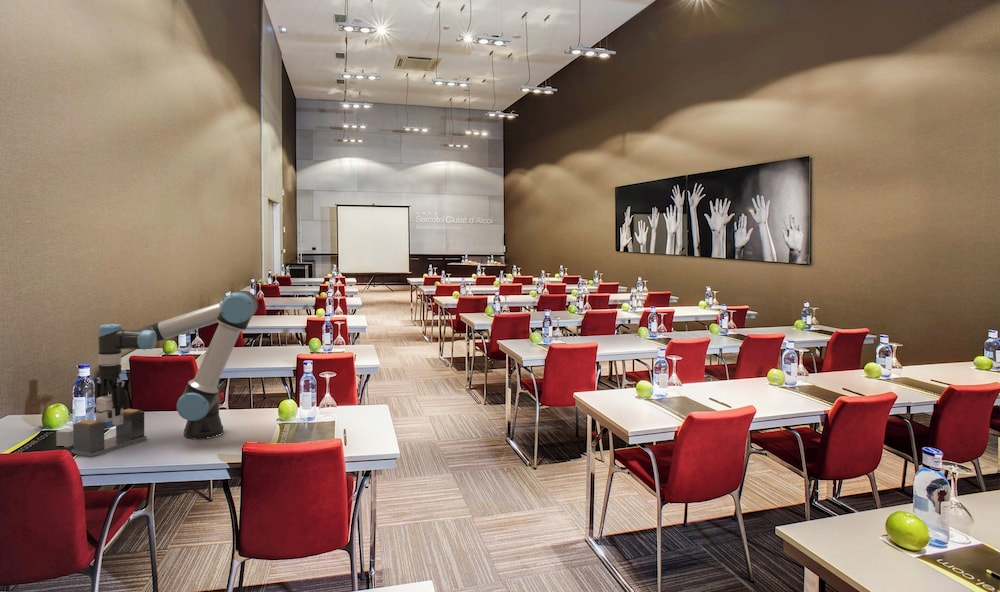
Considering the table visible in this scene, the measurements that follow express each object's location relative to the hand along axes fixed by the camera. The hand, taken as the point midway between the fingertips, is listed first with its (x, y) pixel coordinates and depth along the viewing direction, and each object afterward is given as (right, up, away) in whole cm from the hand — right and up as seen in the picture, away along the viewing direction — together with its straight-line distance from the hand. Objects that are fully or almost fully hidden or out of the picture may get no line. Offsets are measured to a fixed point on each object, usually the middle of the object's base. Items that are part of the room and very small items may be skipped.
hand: (109, 422), depth 241 cm
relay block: (-17, -9, +1) cm, 19 cm away
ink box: (0, -1, 0) cm, 2 cm away
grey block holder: (0, -9, +1) cm, 9 cm away
